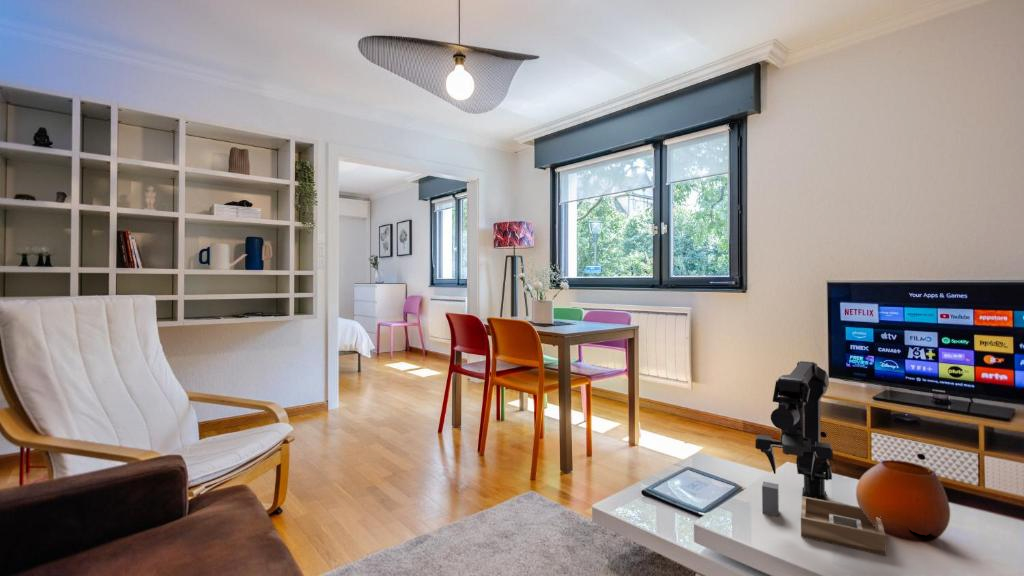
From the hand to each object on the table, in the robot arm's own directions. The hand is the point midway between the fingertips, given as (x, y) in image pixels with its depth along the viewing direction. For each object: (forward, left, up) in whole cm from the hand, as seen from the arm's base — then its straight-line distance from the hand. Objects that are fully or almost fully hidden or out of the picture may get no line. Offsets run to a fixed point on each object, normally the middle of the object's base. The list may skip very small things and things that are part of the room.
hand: (793, 476), depth 136 cm
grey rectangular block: (-4, -6, -13) cm, 15 cm away
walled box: (0, +11, -13) cm, 17 cm away
